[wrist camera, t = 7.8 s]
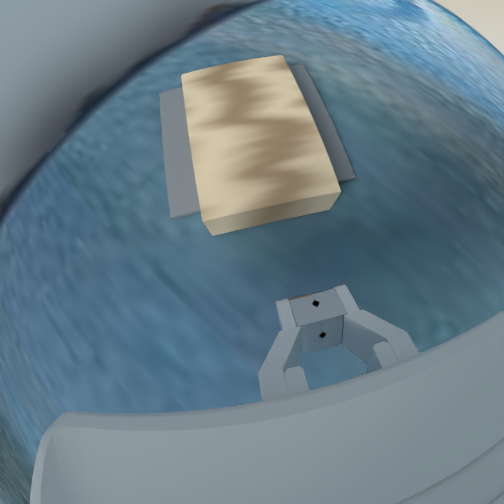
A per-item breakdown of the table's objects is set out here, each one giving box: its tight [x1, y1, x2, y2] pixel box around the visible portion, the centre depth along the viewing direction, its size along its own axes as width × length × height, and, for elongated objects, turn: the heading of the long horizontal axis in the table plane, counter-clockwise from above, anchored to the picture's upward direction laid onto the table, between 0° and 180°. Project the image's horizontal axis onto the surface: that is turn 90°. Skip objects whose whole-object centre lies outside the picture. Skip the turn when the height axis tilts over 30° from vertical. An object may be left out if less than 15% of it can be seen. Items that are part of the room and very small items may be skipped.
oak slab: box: [181, 55, 341, 236], centre depth 20 cm, size 9×4×14 cm
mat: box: [160, 64, 356, 219], centre depth 23 cm, size 15×14×1 cm
